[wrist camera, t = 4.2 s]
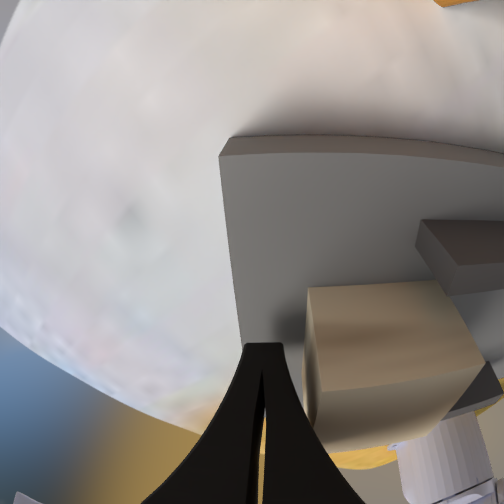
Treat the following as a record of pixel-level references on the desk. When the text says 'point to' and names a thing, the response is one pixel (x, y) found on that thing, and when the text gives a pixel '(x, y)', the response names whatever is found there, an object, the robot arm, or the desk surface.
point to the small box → (452, 2)
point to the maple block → (383, 362)
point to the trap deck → (365, 234)
